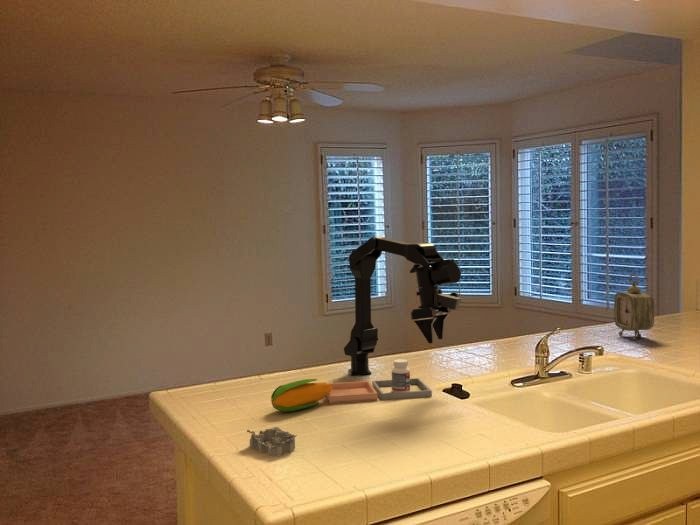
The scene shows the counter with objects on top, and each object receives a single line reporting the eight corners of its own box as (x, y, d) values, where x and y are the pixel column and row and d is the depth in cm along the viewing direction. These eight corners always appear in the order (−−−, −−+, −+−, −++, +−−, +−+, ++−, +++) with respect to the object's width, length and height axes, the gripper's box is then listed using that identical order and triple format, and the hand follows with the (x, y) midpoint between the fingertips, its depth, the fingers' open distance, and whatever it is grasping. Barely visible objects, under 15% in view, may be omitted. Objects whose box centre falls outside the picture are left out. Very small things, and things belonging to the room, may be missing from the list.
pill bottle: (409, 394, 185) (408, 363, 184) (390, 393, 186) (390, 362, 185) (411, 388, 190) (410, 358, 189) (393, 388, 191) (392, 358, 190)
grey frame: (372, 386, 194) (372, 380, 194) (418, 383, 196) (418, 377, 196) (381, 399, 180) (381, 393, 180) (431, 396, 182) (431, 390, 182)
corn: (263, 383, 170) (323, 369, 183) (263, 411, 171) (322, 395, 184) (280, 390, 164) (340, 375, 178) (280, 419, 165) (339, 402, 179)
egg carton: (245, 447, 146) (244, 429, 146) (273, 439, 151) (272, 421, 151) (271, 460, 138) (270, 441, 138) (300, 451, 143) (299, 432, 143)
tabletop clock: (613, 334, 262) (614, 273, 261) (635, 334, 263) (635, 272, 262) (633, 341, 248) (634, 276, 246) (655, 340, 249) (656, 275, 247)
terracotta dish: (324, 390, 190) (324, 383, 190) (368, 387, 192) (368, 381, 192) (329, 403, 177) (329, 396, 177) (377, 400, 179) (377, 393, 179)
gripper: (445, 284, 175) (453, 342, 174) (464, 281, 192) (471, 334, 191) (406, 290, 179) (414, 346, 179) (428, 286, 196) (435, 338, 196)
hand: (435, 341), depth 186 cm, fingers open, 9 cm apart
